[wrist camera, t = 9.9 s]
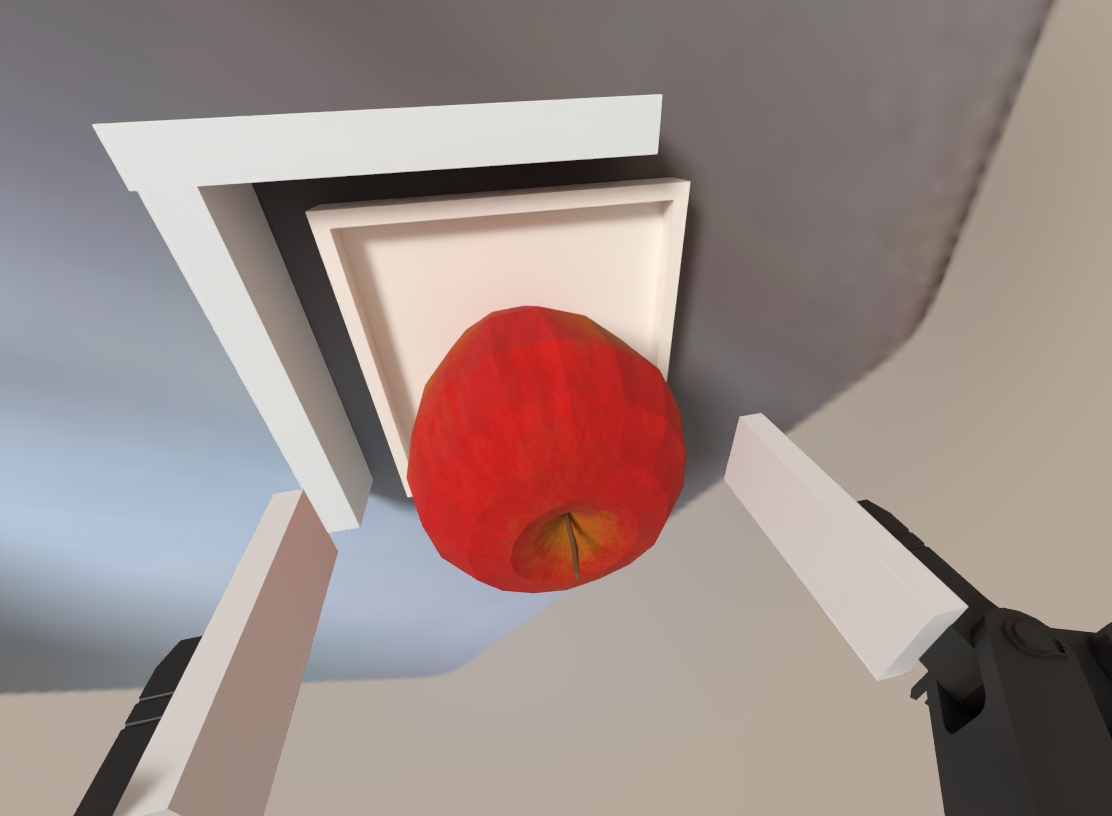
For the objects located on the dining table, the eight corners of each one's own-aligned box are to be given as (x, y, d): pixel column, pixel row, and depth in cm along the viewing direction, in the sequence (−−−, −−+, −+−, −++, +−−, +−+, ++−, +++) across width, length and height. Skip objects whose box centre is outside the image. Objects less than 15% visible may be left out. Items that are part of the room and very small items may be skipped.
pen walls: (340, 484, 23) (322, 533, 21) (169, 125, 14) (91, 124, 11) (613, 442, 25) (632, 482, 22) (627, 100, 16) (662, 94, 13)
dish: (411, 474, 24) (407, 497, 22) (320, 204, 16) (305, 211, 14) (646, 438, 26) (657, 457, 24) (671, 176, 18) (690, 181, 16)
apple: (454, 448, 22) (457, 699, 13) (386, 289, 17) (305, 524, 7) (618, 405, 23) (736, 616, 14) (604, 239, 18) (785, 397, 8)
